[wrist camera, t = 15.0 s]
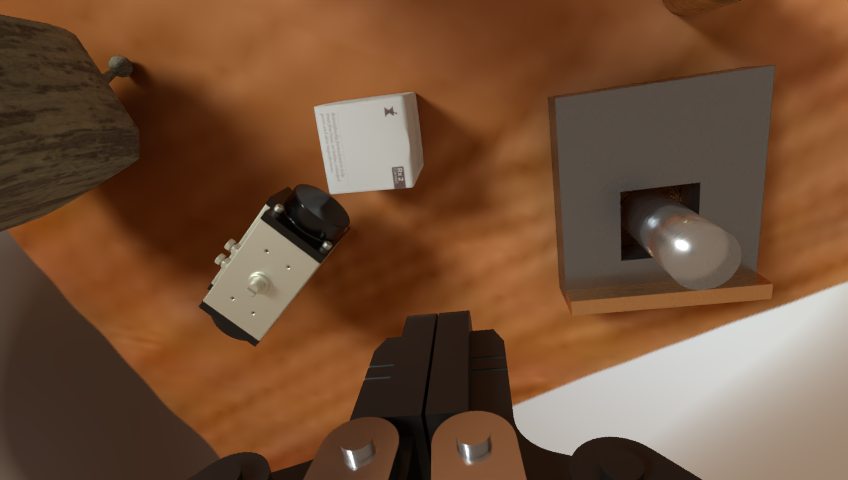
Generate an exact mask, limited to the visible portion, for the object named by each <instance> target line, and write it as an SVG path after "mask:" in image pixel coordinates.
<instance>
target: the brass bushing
mask: <svg viewBox="0 0 848 480" xmlns="http://www.w3.org/2000/svg"><path fill="white" fill-rule="evenodd" d="M737 1H741V0H663V2H664V4H665V6H666V7H667V8H668V9H669V10H670V11H671V12H673V13H675V14H677V15H681V16H691V15H695V14H698V13H702V12H705V11H708V10H711V9H715V8H718V7H721V6H724V5H728V4H731V3H734V2H737Z"/></svg>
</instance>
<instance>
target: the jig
mask: <svg viewBox="0 0 848 480" xmlns="http://www.w3.org/2000/svg"><path fill="white" fill-rule="evenodd" d="M774 73H775V65H770V66H752V67H743V68H737V69H730V70H723V71H717V72H710V73H704V74H697V75H691V76H684V77H677V78H671V79H664V80H658V81H651V82H645V83H638V84H631V85H625V86H618V87H612V88H605V89H599V90H592V91H585V92H579V93H572V94H566V95H559V96H553V97H548V104H549V120H550V136H551V153H552V169H553V185H554V202H555V218H556V234H557V251H558V267H559V283H560V289H561V292H562V294H563V296H564V299H565V301H566V303H567V306H568V308H569V310H570V313H571V315H572V316H575V315H587V314H599V313H611V312H623V311H635V310H646V309H658V308H670V307H682V306H694V305H706V304H718V303H730V302H742V301H754V300H766V299H772V291H773V283H771V282H770V281H768V280H767V279H765V278H764V277H762V276H761V275H759V274H758V273H756V272H757V261H758V250H759V239H760V228H761V217H762V206H763V195H764V184H765V173H766V162H767V151H768V140H769V128H770V117H771V106H772V95H773V84H774ZM674 185H682V191H681V204H682V205H684V206H685V207H687V208H689V209H690V210H692V211H694V212H695V213H697V214H699V215H700V216H702V217H703V218H705V219H707V220H708V221H710V222H712V223H713V224H715V225H717V226H718V227H720V228H722V229H723V230H725V231H726V232H728V233H730V234H731V235H732V236H734V237H735V238H736V240H737V241H738V243H739V245H740V248H741V262H740V265H739V267H738V269H737V271H736V272H735V273H734V275H733V276H732V277H731V278H730V279H729V280H727V281H726V282H725V283H723V284H722V285H720V286H718V287H715V288H712V289H708V290H692V289H688V288H686V287H684V286H682V285H680V284H679V283H678V282H677V281H676V280H675V279H674V278H673V277H672V276H671V275H670V274H669V273H668V272H667V271H666V270H665V269H664V268H663V267H662V266H661V265H660V264H659V263H658V262H657V261H656V260H655V259H654V258H653V257H652V256H651V255H650V254H649V253H648V252H647V251H646V250H645V249H644V248H643V247H642V246H641V245H631V246H621V211H620V192H624V191H632V190H641V189H649V188H657V187H666V186H674Z"/></svg>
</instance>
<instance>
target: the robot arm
mask: <svg viewBox="0 0 848 480" xmlns="http://www.w3.org/2000/svg"><path fill="white" fill-rule="evenodd" d="M188 480H701V479H700V478H698V477H697V476H695V475H694V474H692V473H690V472H689V471H687V470H685V469H684V468H682V467H680V466H679V465H677V464H675V463H674V462H672V461H670V460H669V459H667V458H666V457H664V456H662V455H661V454H659V453H657V452H656V451H654V450H652V449H650V448H648V447H647V446H645V445H643V444H641V443H638V442H636V441H633V440H629V439H626V438H619V437H601V438H596V439H592V440H590V441H587V442H585V443H584V444H582V445H581V446H580V447H578V448H577V449H576V451H575V452H574V453H573V455H572V456H570V455H565V454H561V453H556V452H552V451H549V450H546V449H543V448H540V447H538V446H536V445H535V444H533V443H531V442H530V441H529V440H527V439H526V438H525V437H524V436H523V435H522V434H521V433H520V432H519V430H518V429H517V427H516V424H515V421H514V417H513V409H512V401H511V393H510V385H509V377H508V370H507V362H506V354H505V346H504V340H503V339H502V338H501V337H500V336H499V335H498V334H497V333H496V332H495V331H494V330H493V329H491V330H479V331H472V323H471V316H470V311H458V312H447V313H439V316H438V314H425V315H414V316H407V319H406V322H405V326H404V329H403V333H402V337H395V338H387V339H386V340H385V341H384V342H383V343H382V344H381V345H380V346H379V347H378V348H377V349H376V350H375V351H374V354H373V357H372V360H371V363H370V368H368V371H367V374H366V376H365V380H364V382H363V385H362V388H361V390H360V393H359V396H358V399H357V402H356V404H355V407H354V410H353V413H352V415H351V418H350V421H348V422H346V423H344V424H342V425H340V426H338V427H337V428H336V429H334V430H333V431H332V432H331V433H330V434H329V435H328V436H327V437H326V438H325V439H324V440H323V442H322V444H321V445H320V447H319V449H318V451H317V453H316V455H315V457H314V459H312V460H310V461H307V462H305V463H302V464H298V465H295V466H292V467H289V468H285V469H282V470H279V471H276V472H272V473H271V470H270V467H269V464H268V462H267V460H266V459H265V458H264V457H263V456H261V455H259V454H257V453H252V452H243V453H237V454H233V455H229V456H227V457H224V458H222V459H220V460H218V461H216V462H214V463H212V464H211V465H209V466H207V467H206V468H204V469H203V470H201V471H200V472H198V473H197V474H195V475H194V476H192V477H191V478H189V479H188Z"/></svg>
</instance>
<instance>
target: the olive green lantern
mask: <svg viewBox="0 0 848 480" xmlns="http://www.w3.org/2000/svg"><path fill="white" fill-rule="evenodd" d="M108 64H109V67H110V70H109V71H107V72H105V73H103V74H101V72H100V71H99V69H98V68H97V66H96V65H95V63H94V62H93V60H92V59H91V57H90V56H89V54H88V53H87V51H86V50H85V48H84V47H83V45H82V44H81V42H80V41H79V39H78V38H77V36H76V35H74V34H73V33H71V32H69V31H68V30H66V29H63V28H60V27H57V26H53V25H50V24H46V23H41V22H36V21H31V20H25V19H20V18H15V17H10V16H5V15H0V232H1V231H4V230H7V229H10V228H12V227H15V226H18V225H21V224H24V223H27V222H29V221H32V220H35V219H37V218H40V217H42V216H44V215H46V214H48V213H50V212H52V211H54V210H56V209H58V208H60V207H62V206H64V205H65V204H67V203H69V202H70V201H72V200H74V199H76V198H77V197H79V196H81V195H83V194H84V193H86V192H88V191H89V190H91V189H93V188H95V187H96V186H98V185H100V184H101V183H103V182H104V181H106V180H108V179H109V178H111V177H112V176H114V175H116V174H117V173H119V172H121V171H122V170H124V169H125V168H127V167H128V166H130V165H131V164H133V163H134V162H135V161H137V160H138V159H139V158H140V147H139V129H138V127H137V126H136V124H135V123H134V121H133V120H132V118H131V117H130V115H129V114H128V112H127V111H126V109H125V108H124V106H123V105H122V103H121V102H120V100H119V99H118V98H117V96H116V95H115V93H114V92H113V90H112V89H111V87H110V86H109V83H110V82H111V81H112V80H113V79H114V77H115V76H119V77H127V76H130V74H131V73H132V71H133V67H132V63H131V62H130V61H129V60H128V59H127V58H125V57H122V56H115V57H112V58H111V60H110V62H109V63H108Z"/></svg>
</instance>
